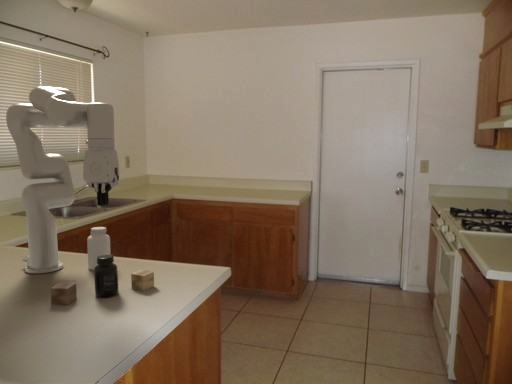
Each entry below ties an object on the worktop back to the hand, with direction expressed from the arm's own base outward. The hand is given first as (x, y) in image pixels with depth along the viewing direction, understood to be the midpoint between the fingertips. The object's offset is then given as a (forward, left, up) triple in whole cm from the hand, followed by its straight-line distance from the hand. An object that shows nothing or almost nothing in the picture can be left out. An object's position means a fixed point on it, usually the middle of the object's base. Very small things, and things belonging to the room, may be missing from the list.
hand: (102, 205), depth 127 cm
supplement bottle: (+2, -2, -28) cm, 28 cm away
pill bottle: (-18, +20, -28) cm, 39 cm away
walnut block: (-6, -11, -28) cm, 30 cm away
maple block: (+9, +7, -28) cm, 30 cm away
